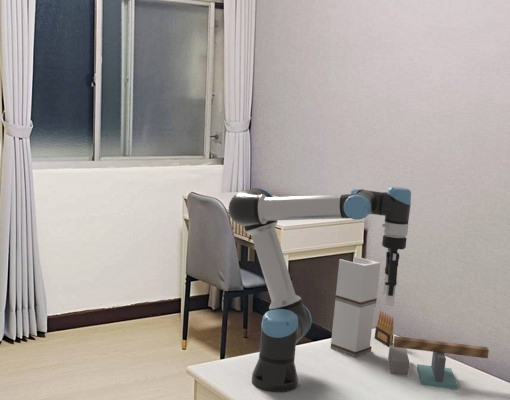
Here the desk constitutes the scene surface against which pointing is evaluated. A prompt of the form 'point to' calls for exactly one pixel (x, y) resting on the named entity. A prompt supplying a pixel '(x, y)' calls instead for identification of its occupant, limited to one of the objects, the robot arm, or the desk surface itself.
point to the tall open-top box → (355, 306)
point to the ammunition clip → (384, 329)
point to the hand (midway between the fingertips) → (387, 299)
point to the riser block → (398, 361)
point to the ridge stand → (437, 373)
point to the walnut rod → (441, 347)
